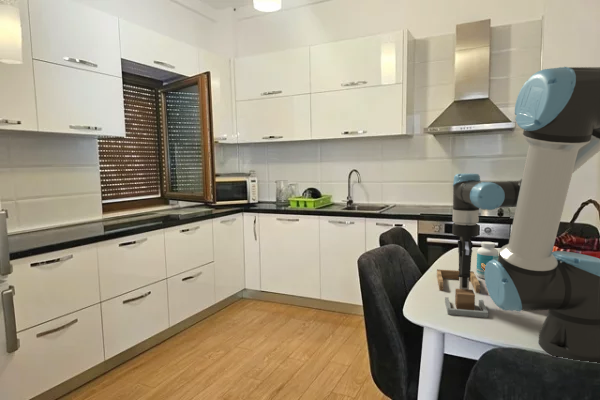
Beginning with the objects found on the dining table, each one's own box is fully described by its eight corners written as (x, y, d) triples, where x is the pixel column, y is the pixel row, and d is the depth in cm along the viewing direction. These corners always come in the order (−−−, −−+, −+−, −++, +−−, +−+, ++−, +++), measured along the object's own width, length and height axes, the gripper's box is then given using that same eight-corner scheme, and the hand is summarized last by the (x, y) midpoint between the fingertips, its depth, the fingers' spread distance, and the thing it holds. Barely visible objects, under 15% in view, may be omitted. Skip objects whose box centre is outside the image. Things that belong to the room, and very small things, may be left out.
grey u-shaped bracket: (488, 317, 113) (488, 312, 112) (447, 314, 116) (447, 309, 116) (482, 304, 123) (482, 300, 122) (444, 301, 126) (445, 297, 126)
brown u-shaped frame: (479, 293, 133) (480, 284, 133) (439, 290, 136) (439, 282, 136) (472, 279, 148) (473, 271, 148) (436, 276, 152) (436, 269, 151)
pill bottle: (496, 281, 145) (497, 245, 144) (475, 278, 149) (476, 243, 148) (498, 275, 152) (499, 241, 150) (477, 273, 156) (478, 240, 154)
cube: (474, 311, 118) (475, 295, 117) (456, 309, 119) (457, 293, 119) (472, 305, 123) (472, 289, 122) (455, 303, 124) (455, 288, 123)
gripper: (482, 226, 114) (479, 304, 116) (475, 220, 126) (473, 290, 129) (454, 226, 116) (452, 302, 119) (450, 219, 129) (449, 288, 131)
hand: (463, 296), depth 124 cm, fingers closed
